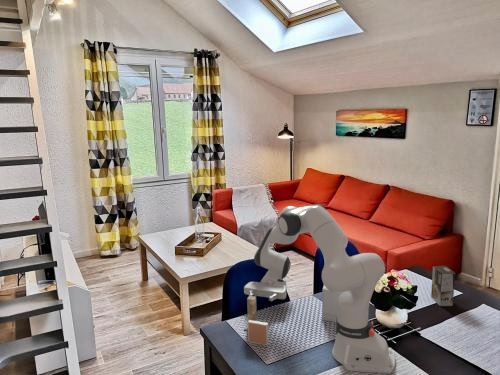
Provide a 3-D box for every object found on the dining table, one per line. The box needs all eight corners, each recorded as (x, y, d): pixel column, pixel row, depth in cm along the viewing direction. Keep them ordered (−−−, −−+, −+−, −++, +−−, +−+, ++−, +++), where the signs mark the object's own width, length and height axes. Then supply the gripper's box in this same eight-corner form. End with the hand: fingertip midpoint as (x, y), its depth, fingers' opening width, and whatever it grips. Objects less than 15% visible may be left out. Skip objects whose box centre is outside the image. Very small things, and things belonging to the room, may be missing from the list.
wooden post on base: (260, 323, 165) (259, 294, 163) (255, 332, 159) (254, 302, 156) (249, 321, 167) (248, 293, 164) (244, 330, 161) (243, 300, 158)
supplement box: (342, 323, 163) (343, 291, 160) (321, 320, 166) (322, 289, 163) (344, 312, 172) (345, 282, 169) (324, 310, 175) (324, 280, 172)
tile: (268, 343, 151) (268, 323, 149) (267, 345, 150) (266, 325, 148) (249, 339, 154) (249, 319, 152) (248, 342, 152) (247, 321, 151)
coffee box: (453, 306, 175) (456, 273, 171) (439, 306, 175) (441, 273, 171) (443, 296, 184) (446, 265, 180) (430, 296, 184) (432, 265, 180)
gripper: (249, 276, 188) (238, 289, 175) (289, 281, 181) (281, 294, 168) (249, 288, 189) (239, 301, 176) (289, 293, 182) (282, 307, 169)
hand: (260, 298), depth 172 cm, fingers open, 8 cm apart
